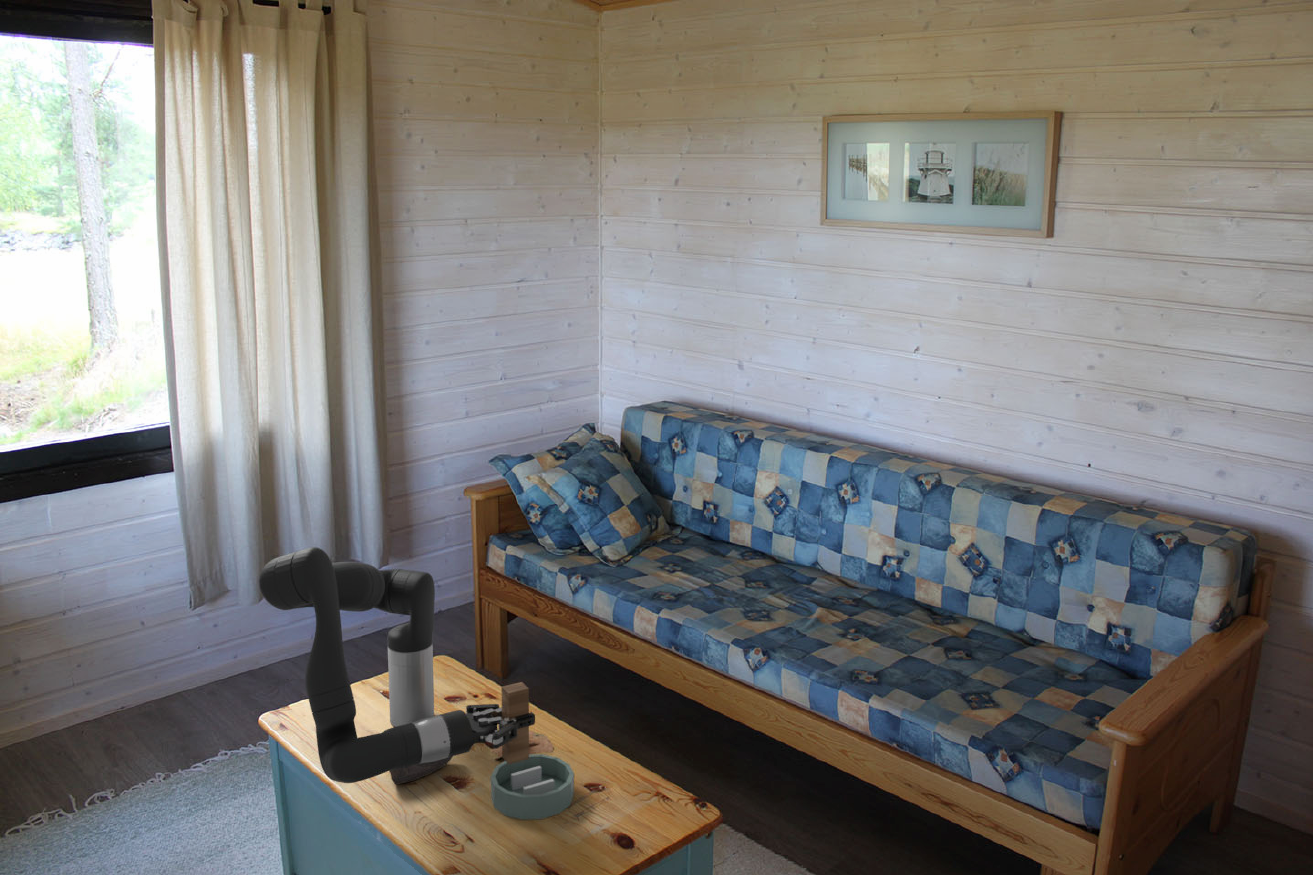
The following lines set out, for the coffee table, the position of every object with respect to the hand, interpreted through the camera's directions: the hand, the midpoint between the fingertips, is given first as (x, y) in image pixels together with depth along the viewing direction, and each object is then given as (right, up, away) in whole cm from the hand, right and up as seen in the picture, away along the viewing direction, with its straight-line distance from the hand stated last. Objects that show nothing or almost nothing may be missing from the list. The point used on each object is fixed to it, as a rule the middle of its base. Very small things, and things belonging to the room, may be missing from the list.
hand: (529, 714), depth 198 cm
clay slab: (-6, -13, +23) cm, 27 cm away
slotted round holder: (0, -16, +4) cm, 17 cm away
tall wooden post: (-3, -8, 0) cm, 9 cm away
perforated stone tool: (-22, -15, +11) cm, 29 cm away
